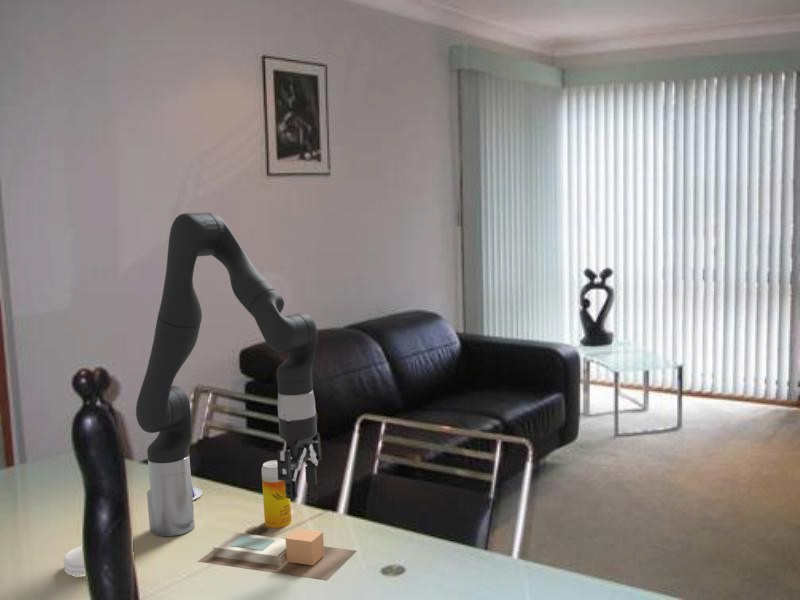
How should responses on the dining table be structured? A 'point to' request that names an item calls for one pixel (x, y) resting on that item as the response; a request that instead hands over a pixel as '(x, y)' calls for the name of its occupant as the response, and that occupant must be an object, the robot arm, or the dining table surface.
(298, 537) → the light orange cube
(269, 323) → the robot arm
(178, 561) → the dining table surface
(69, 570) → the white frilly dome
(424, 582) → the dining table surface
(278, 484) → the beer can
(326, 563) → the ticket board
